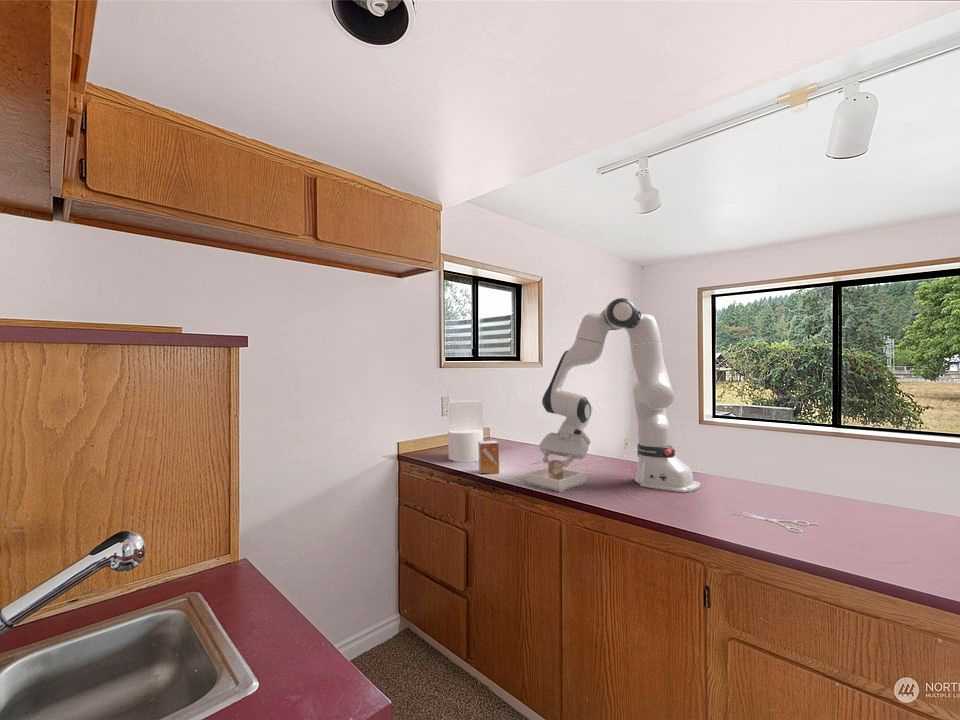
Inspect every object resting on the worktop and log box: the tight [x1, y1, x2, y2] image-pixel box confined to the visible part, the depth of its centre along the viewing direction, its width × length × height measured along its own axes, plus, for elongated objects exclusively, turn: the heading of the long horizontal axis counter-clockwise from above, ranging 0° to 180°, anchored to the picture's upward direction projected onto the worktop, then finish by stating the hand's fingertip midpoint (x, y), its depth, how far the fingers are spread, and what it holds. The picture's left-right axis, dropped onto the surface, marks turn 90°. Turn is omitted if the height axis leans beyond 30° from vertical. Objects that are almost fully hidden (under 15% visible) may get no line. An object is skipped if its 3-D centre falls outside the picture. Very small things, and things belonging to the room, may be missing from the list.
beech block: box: [547, 459, 564, 480], centre depth 168 cm, size 4×4×8 cm
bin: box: [525, 467, 587, 493], centre depth 168 cm, size 16×16×4 cm
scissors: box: [731, 509, 819, 534], centre depth 125 cm, size 11×1×20 cm
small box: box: [478, 440, 500, 474], centre depth 189 cm, size 8×6×13 cm
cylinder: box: [446, 399, 484, 463], centre depth 217 cm, size 17×17×28 cm
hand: (554, 463), depth 168 cm, fingers open, 8 cm apart
